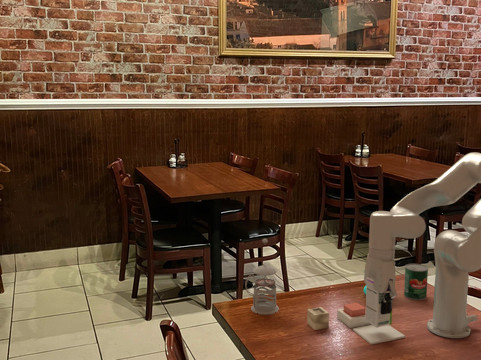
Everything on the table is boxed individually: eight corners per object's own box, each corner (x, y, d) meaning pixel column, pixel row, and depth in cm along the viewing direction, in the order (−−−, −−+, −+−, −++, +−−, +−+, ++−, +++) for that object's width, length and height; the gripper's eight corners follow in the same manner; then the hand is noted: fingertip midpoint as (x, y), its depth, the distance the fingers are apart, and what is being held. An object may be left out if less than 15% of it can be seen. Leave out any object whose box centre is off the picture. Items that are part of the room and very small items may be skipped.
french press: (281, 314, 176) (281, 242, 172) (246, 315, 176) (246, 243, 171) (277, 302, 186) (277, 234, 182) (244, 303, 185) (244, 235, 181)
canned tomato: (414, 290, 196) (415, 262, 194) (431, 297, 189) (433, 268, 187) (399, 294, 192) (400, 265, 190) (416, 301, 185) (417, 272, 183)
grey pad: (385, 324, 168) (385, 322, 168) (404, 337, 159) (404, 335, 159) (352, 330, 164) (352, 328, 164) (371, 344, 155) (371, 342, 155)
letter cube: (321, 321, 171) (321, 306, 170) (328, 327, 166) (328, 312, 165) (307, 323, 169) (307, 308, 168) (314, 330, 164) (314, 314, 164)
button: (356, 311, 173) (356, 302, 173) (365, 317, 169) (365, 308, 168) (343, 313, 172) (343, 304, 171) (351, 319, 167) (352, 310, 166)
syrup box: (376, 328, 157) (378, 282, 154) (364, 320, 162) (366, 275, 160) (391, 324, 159) (394, 279, 157) (379, 317, 165) (381, 273, 162)
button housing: (357, 314, 176) (358, 305, 175) (371, 324, 168) (372, 315, 168) (337, 318, 173) (337, 309, 172) (350, 328, 165) (350, 319, 165)
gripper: (354, 245, 164) (352, 300, 167) (388, 262, 148) (385, 322, 151) (375, 243, 166) (373, 297, 169) (410, 259, 150) (407, 318, 153)
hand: (378, 308), depth 160 cm, fingers closed on syrup box, 5 cm apart
